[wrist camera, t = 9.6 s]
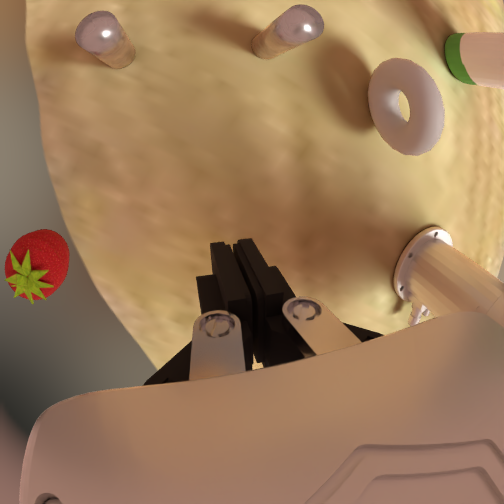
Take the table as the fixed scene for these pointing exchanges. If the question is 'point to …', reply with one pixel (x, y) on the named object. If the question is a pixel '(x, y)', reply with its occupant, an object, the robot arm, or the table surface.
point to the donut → (420, 102)
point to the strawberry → (37, 264)
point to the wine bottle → (477, 58)
